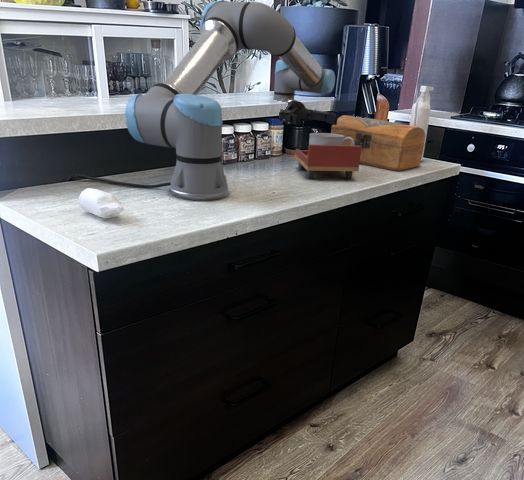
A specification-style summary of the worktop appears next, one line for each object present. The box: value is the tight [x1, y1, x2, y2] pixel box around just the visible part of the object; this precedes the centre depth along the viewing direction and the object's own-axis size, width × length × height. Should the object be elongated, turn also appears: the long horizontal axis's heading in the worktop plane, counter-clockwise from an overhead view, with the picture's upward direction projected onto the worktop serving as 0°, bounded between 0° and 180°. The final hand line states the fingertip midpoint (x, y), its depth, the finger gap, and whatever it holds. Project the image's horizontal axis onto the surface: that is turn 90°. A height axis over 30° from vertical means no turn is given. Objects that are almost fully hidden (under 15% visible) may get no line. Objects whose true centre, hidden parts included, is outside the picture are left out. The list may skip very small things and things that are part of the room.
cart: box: [294, 144, 362, 180], centre depth 165 cm, size 16×19×10 cm
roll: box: [78, 187, 125, 219], centre depth 116 cm, size 6×12×6 cm, turn 48°
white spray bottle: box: [409, 85, 435, 162], centre depth 188 cm, size 7×12×25 cm, turn 140°
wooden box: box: [330, 114, 425, 172], centre depth 185 cm, size 30×16×14 cm, turn 46°
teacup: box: [308, 132, 354, 146], centre depth 162 cm, size 14×11×8 cm
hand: (317, 120), depth 167 cm, fingers open, 13 cm apart
